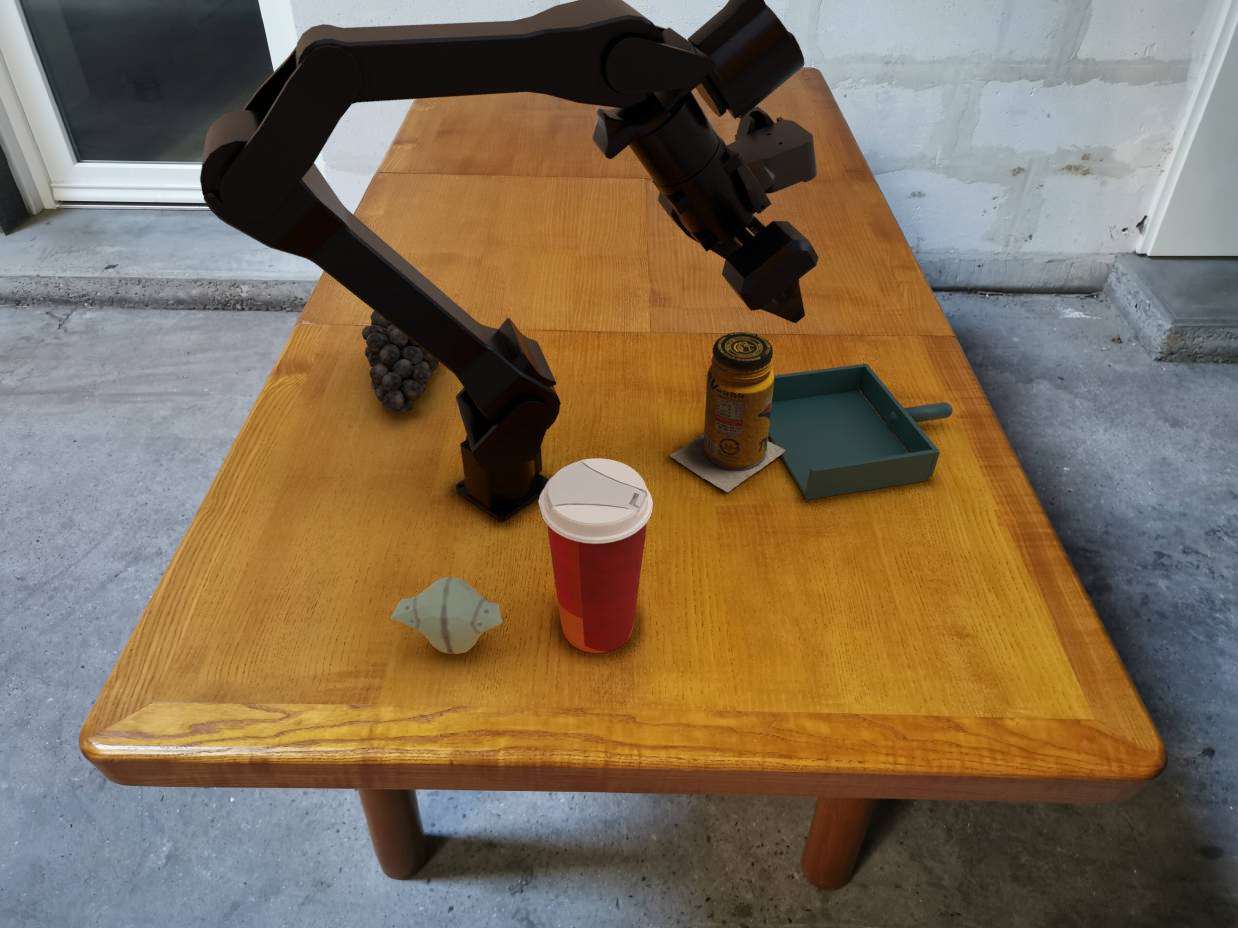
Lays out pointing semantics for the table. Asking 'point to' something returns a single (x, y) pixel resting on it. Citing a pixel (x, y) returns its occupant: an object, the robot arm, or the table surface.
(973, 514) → the table surface
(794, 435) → the teal dustpan
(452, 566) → the table surface
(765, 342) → the condiment
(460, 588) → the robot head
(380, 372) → the fruit
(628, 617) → the paper cup
